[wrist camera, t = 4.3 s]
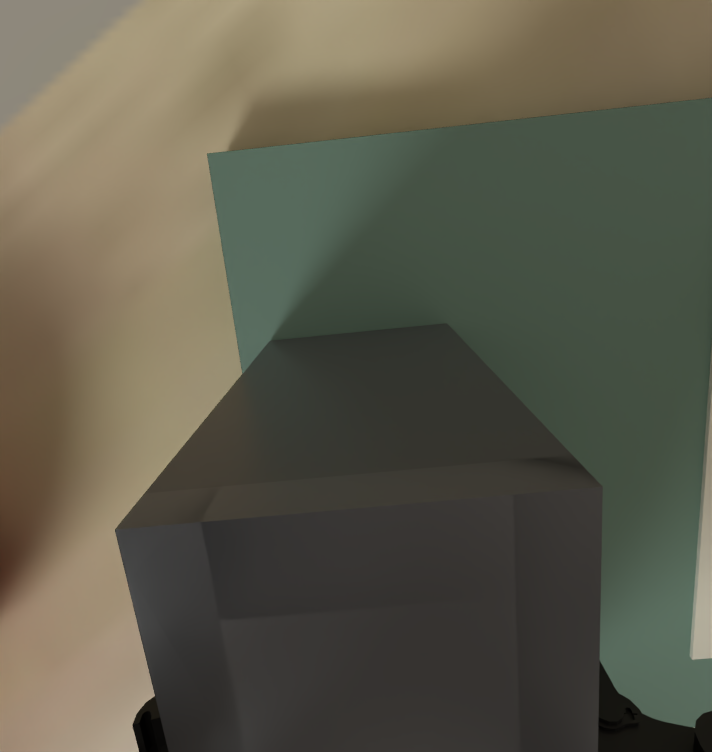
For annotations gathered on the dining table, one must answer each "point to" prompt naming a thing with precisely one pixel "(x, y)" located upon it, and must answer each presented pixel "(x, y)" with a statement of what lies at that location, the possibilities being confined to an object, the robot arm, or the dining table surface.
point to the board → (529, 318)
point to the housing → (370, 560)
